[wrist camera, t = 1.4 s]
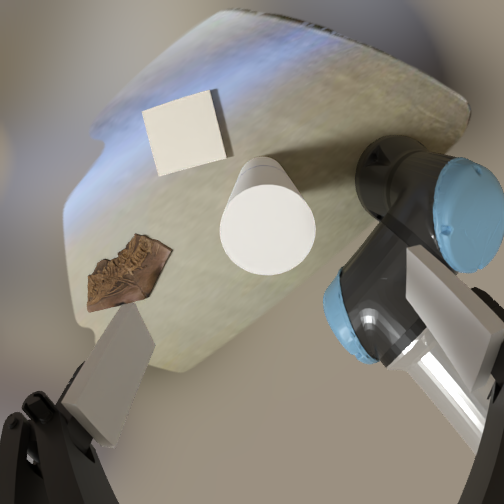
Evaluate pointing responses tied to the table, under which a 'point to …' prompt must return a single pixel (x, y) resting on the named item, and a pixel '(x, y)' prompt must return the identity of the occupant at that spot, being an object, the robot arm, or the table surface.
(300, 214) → the cylindrical container
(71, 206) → the table surface
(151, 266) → the brown relief tablet
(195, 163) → the ceramic tile
